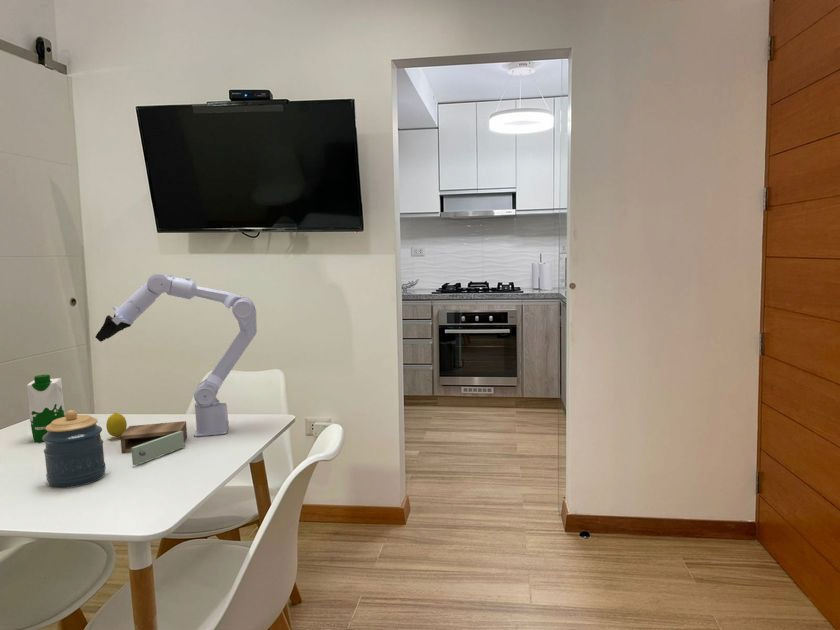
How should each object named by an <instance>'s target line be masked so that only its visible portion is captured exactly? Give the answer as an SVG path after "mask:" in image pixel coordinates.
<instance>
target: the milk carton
mask: <svg viewBox="0 0 840 630" xmlns="http://www.w3.org/2000/svg"><path fill="white" fill-rule="evenodd" d="M62 382H63V381H62V378H61V377H59V378H51V375H50V374H39V375H35V376H34V379H33V381H30V382H29V383H28V384H26V391H27V392H26V393H27V400H28V403H27V404H28V411H29V419H30V428H31V434H32V439H33V443H35V444H36V443H45V441H43V439H42V437H43V436H44V435H45V434H46V433H47V432H48V431H47V430H46V429H45V427H46V426H47V425H49V424H50V423H51V422H52V421H54V420H56V419H58V418H62V417H65V413H66V411H65V410H66V409H65V401H64V393H63V391H64V389H63V383H62Z"/></svg>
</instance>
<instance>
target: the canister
mask: <svg viewBox="0 0 840 630" xmlns="http://www.w3.org/2000/svg"><path fill="white" fill-rule="evenodd" d="M97 423H99V421H98V419H97V418H95V417H94V416H93V417H92V415H89V414H78V412H77V411H76V410H74V409H69V410H67V411H65V417H62V418H58V419H56V420H54V421H52V422H51V423H50V424H49V425H47V426H46V427H45V429H46V430H47V431H48V432H47V433H46V434H45V435H44V436H43V437H42V439H43V441H45V442H44V443H45V444H44V445H45V448H44V449H43V453H44V460H45V469H46V474H45V477H46V481H47V484H48V486H49V487H51V488H58V489H59V488H61V489H62V488H63V489H66V488H74V487H79V486H84V485H88V484H91V483H93V482H96V481H98V480H100V479H102V478H103V477H104V476H105V475H106V468H107V467H106V463H105V454H104V440H103V438H102V436H101V432H103V428H102V427H101V426H100V425H97Z"/></svg>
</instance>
